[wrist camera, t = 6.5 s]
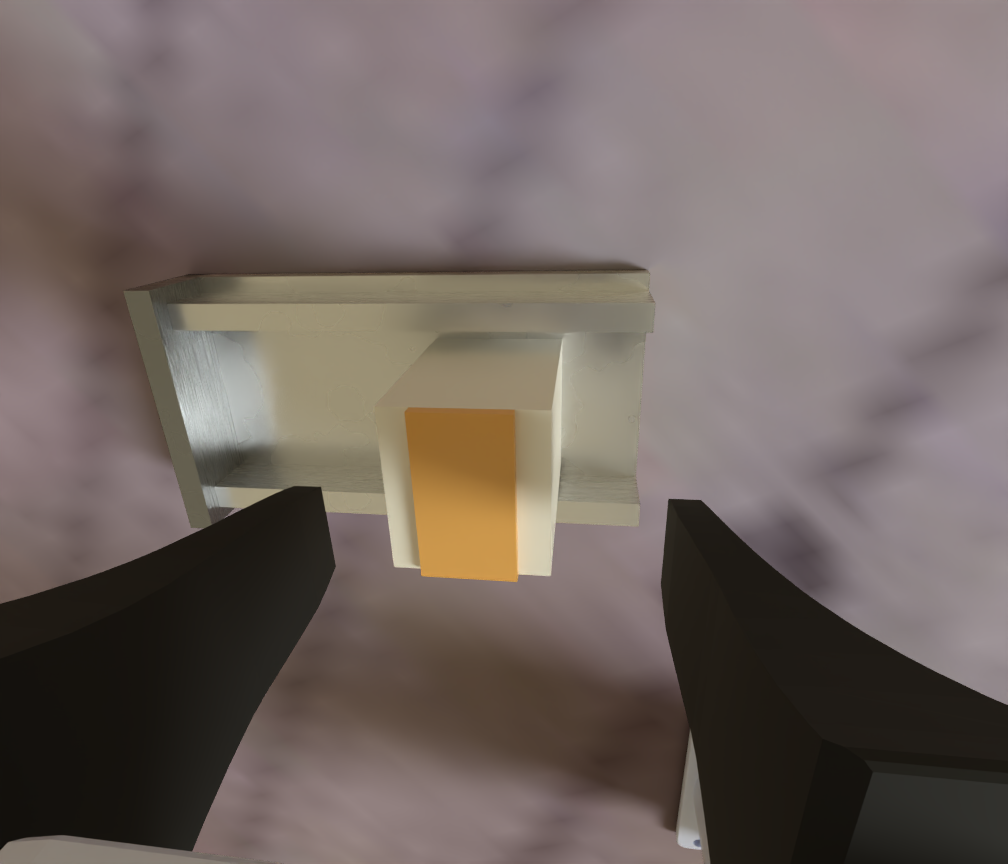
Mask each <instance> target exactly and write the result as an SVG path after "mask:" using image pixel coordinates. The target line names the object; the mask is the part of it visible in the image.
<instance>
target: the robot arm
mask: <svg viewBox="0 0 1008 864" xmlns="http://www.w3.org/2000/svg"><path fill="white" fill-rule="evenodd" d="M335 567H336V565H335V560H334V554H333V549H332V544H331V538H330V533H329V527H328V522H327V516H326V511H325V505H324V500H323V494H322V489H321V487H312V486H293V487H290V488H287V489H284V490H282V491H280V492H277V493H275V494H273V495H271V496H269V497H267V498H264V499H262V500H260V501H258V502H256V503H254V504H252V505H250V506H248V507H246V508H244V509H242V510H240V511H238V512H236V513H234V514H232V515H230V516H228V517H226V518H224V519H222V520H220V521H218V522H216V523H214V524H212V525H210V526H208V527H206V528H204V529H202V530H200V531H198V532H196V533H193V534H191V535H189V536H187V537H185V538H183V539H180V540H178V541H176V542H174V543H172V544H170V545H168V546H165V547H163V548H161V549H159V550H157V551H154V552H152V553H150V554H147V555H145V556H143V557H140V558H138V559H135V560H133V561H130V562H128V563H125V564H122V565H120V566H117V567H115V568H112V569H109V570H107V571H104V572H101V573H99V574H96V575H93V576H90V577H87V578H84V579H81V580H78V581H75V582H72V583H68V584H65V585H62V586H59V587H56V588H53V589H50V590H46V591H43V592H40V593H37V594H34V595H31V596H27V597H24V598H20V599H17V600H13V601H9V602H6V603H2V604H0V864H282V863H278V862H270V861H262V860H254V859H246V858H239V857H231V856H223V855H215V854H207V853H199V852H192V850H193V848H194V845H195V843H196V841H197V838H198V836H199V833H200V831H201V828H202V826H203V823H204V821H205V819H206V816H207V814H208V812H209V810H210V807H211V805H212V803H213V801H214V798H215V796H216V794H217V792H218V789H219V787H220V785H221V783H222V780H223V778H224V776H225V774H226V771H227V769H228V767H229V765H230V763H231V761H232V758H233V756H234V754H235V752H236V750H237V748H238V746H239V744H240V742H241V740H242V738H243V736H244V733H245V731H246V729H247V727H248V725H249V723H250V721H251V719H252V717H253V715H254V713H255V712H256V710H257V708H258V706H259V705H260V703H261V701H262V699H263V697H264V696H265V694H266V692H267V691H268V689H269V688H270V686H271V684H272V683H273V681H274V679H275V678H276V676H277V675H278V673H279V671H280V670H281V668H282V666H283V665H284V663H285V662H286V660H287V658H288V657H289V655H290V653H291V652H292V650H293V649H294V647H295V645H296V644H297V642H298V640H299V639H300V637H301V635H302V634H303V632H304V630H305V629H306V627H307V625H308V624H309V622H310V620H311V619H312V617H313V615H314V614H315V612H316V610H317V609H318V607H319V605H320V602H321V600H322V598H323V596H324V594H325V591H326V589H327V587H328V584H329V582H330V579H331V577H332V574H333V572H334V569H335ZM661 589H662V599H663V608H664V617H665V625H666V631H667V636H668V640H669V644H670V649H671V653H672V657H673V661H674V665H675V669H676V673H677V678H678V682H679V686H680V690H681V694H682V698H683V702H684V706H685V710H686V714H687V718H688V723H689V727H690V734H689V741H688V748H687V756H686V763H685V770H684V777H683V784H682V791H681V798H680V805H679V812H678V819H677V826H676V840H677V843H678V844H679V845H680V846H682V847H685V848H691V849H699V850H702V855H703V861H704V864H1008V705H1006V704H1004V703H1001V702H999V701H996V700H994V699H992V698H990V697H987V696H985V695H983V694H981V693H979V692H977V691H975V690H973V689H970V688H968V687H966V686H964V685H962V684H960V683H958V682H956V681H954V680H952V679H950V678H947V677H945V676H943V675H941V674H939V673H937V672H935V671H933V670H931V669H929V668H927V667H925V666H923V665H922V664H920V663H918V662H916V661H914V660H912V659H910V658H908V657H906V656H904V655H903V654H901V653H899V652H897V651H896V650H894V649H892V648H890V647H889V646H887V645H885V644H883V643H882V642H880V641H878V640H876V639H875V638H873V637H871V636H869V635H868V634H866V633H864V632H863V631H861V630H859V629H858V628H856V627H855V626H853V625H851V624H850V623H848V622H847V621H845V620H843V619H842V618H841V617H839V616H838V615H836V614H835V613H833V612H832V611H830V610H829V609H827V608H826V607H824V606H823V605H821V604H820V603H818V602H817V601H815V600H814V599H813V598H811V597H810V596H808V595H807V594H806V593H804V592H803V591H802V590H800V589H799V588H798V587H796V586H795V585H794V584H793V583H791V582H790V581H789V580H788V579H786V578H785V577H784V576H783V575H781V574H780V573H779V572H778V571H776V570H775V569H774V568H773V567H772V566H770V565H769V564H768V563H767V562H766V561H765V560H763V559H762V558H761V557H760V556H759V555H758V554H757V553H755V552H754V551H753V550H752V549H751V548H750V547H749V546H748V545H747V544H746V543H745V542H743V541H742V540H741V539H740V538H739V537H738V536H737V535H736V534H735V533H734V532H733V531H732V530H731V529H730V528H729V527H728V526H727V525H726V524H725V523H724V522H723V521H722V520H721V519H720V518H719V517H718V516H717V515H716V514H715V513H714V512H713V511H712V510H711V509H710V508H709V507H708V506H707V505H706V504H704V503H703V502H702V501H701V500H684V499H669V500H668V511H667V522H666V534H665V545H664V556H663V567H662V578H661Z"/></svg>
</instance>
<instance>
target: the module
mask: <svg viewBox="0 0 1008 864" xmlns="http://www.w3.org/2000/svg"><path fill="white" fill-rule="evenodd" d="M561 405H562V339H457V338H436V339H435V340H434V342H433V343H432V344H431V345H430V346H429V347H428V348H427V349H426V350H425V351H424V352H423V354H422V355H421V356H420V357H419V358H418V359H417V360H416V361H415V362H414V363H413V364H412V365H411V367H410V368H409V369H408V370H407V371H406V372H405V373H404V374H403V375H402V376H401V377H400V379H399V380H398V381H397V382H396V383H395V384H394V385H393V386H392V387H391V388H390V389H389V391H388V392H387V393H386V394H385V395H384V396H383V397H382V398H381V399H380V400H379V401H378V403H377V404H376V405H375V406H374V412H375V420H376V427H377V435H378V443H379V451H380V459H381V467H382V475H383V483H384V491H385V499H386V506H387V514H388V522H389V530H390V538H391V546H392V554H393V562H394V567H404V568H421V576H428V577H445V578H461V579H478V580H494V581H511V582H517V580H518V574H523V575H540V576H551V567H552V556H553V545H554V534H555V523H556V512H557V501H558V490H559V479H560V468H561Z"/></svg>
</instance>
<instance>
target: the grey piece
mask: <svg viewBox="0 0 1008 864" xmlns="http://www.w3.org/2000/svg"><path fill="white" fill-rule="evenodd" d="M649 282H650V272H649V271H648V270H610V271H504V272H398V273H292V274H188V275H184V276H180V277H176V278H172V279H168V280H164V281H160V282H156V283H152V284H148V285H144V286H140V287H136V288H132V289H128V290H125V291H123V292H124V296H125V299H126V303H127V306H128V310H129V313H130V317H131V320H132V324H133V327H134V331H135V334H136V337H137V341H138V344H139V348H140V351H141V355H142V358H143V362H144V365H145V369H146V372H147V376H148V379H149V383H150V386H151V390H152V393H153V397H154V400H155V404H156V407H157V410H158V414H159V417H160V421H161V424H162V428H163V431H164V435H165V438H166V442H167V445H168V449H169V452H170V456H171V459H172V463H173V466H174V470H175V473H176V477H177V480H178V484H179V487H180V490H181V494H182V497H183V501H184V504H185V508H186V511H187V515H188V518H189V522H190V525H191V528H206V527H208V526H210V525H212V524H214V523H216V522H218V521H220V520H222V519H224V518H225V517H226V516H227V515H228V514H229V513H230V512H231V511H232V510H233V509H234V508H246V507H248V506H250V505H252V504H254V503H256V502H258V501H260V500H262V499H264V498H267V497H269V496H271V495H273V494H275V493H277V492H280V491H282V490H284V489H287V488H290V487H293V486H312V487H321V489H322V494H323V500H324V505H325V511H326V512H339V513H360V514H382V515H388V514H387V506H386V499H385V491H384V483H383V475H382V467H381V459H380V451H379V443H378V435H377V427H376V420H375V412H374V406H375V405H376V404H377V403H378V401H379V400H380V399H381V398H382V397H383V396H384V395H385V394H386V393H387V392H388V391H389V389H390V388H391V387H392V386H393V385H394V384H395V383H396V382H397V381H398V380H399V379H400V377H401V376H402V375H403V374H404V373H405V372H406V371H407V370H408V369H409V368H410V367H411V365H412V364H413V363H414V362H415V361H416V360H417V359H418V358H419V357H420V356H421V355H422V354H423V352H424V351H425V350H426V349H427V348H428V347H429V346H430V345H431V344H432V343H433V342H434V340H435V339H436V338H457V339H562V405H561V468H560V479H559V490H558V501H557V512H556V523H575V524H596V525H618V526H638V525H639V512H640V501H639V495H638V488H637V482H636V465H637V451H638V437H639V423H640V409H641V395H642V381H643V367H644V353H645V338H646V332H650V333H653V328H654V314H655V301H654V299H653V297H652V296H651V294H650V292H649Z"/></svg>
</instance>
